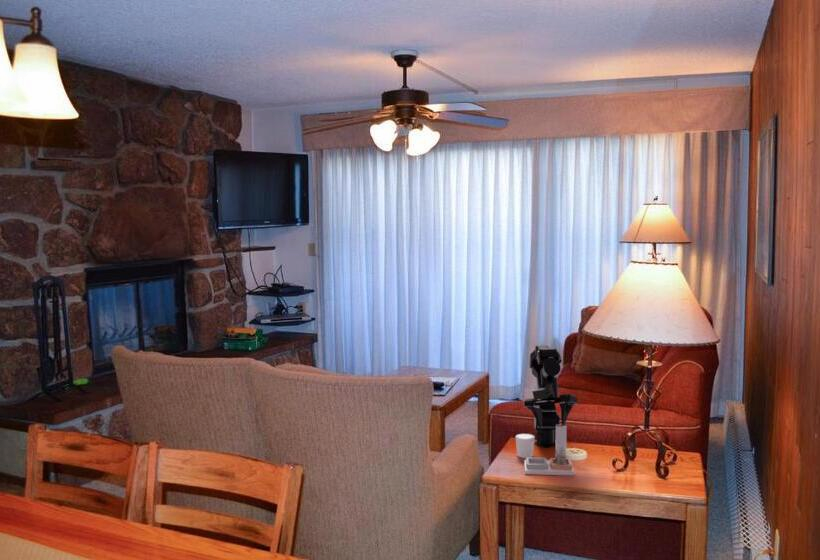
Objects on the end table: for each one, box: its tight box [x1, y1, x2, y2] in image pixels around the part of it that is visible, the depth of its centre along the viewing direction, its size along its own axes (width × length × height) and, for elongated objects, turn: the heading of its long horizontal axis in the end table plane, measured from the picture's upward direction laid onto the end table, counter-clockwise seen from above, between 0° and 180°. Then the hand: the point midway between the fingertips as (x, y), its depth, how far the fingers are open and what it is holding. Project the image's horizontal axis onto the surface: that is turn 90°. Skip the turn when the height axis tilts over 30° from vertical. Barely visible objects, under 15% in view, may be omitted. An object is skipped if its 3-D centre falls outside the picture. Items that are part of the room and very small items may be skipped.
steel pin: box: [554, 423, 568, 465], centre depth 247 cm, size 4×4×14 cm
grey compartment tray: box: [523, 457, 575, 476], centre depth 249 cm, size 10×16×3 cm, turn 83°
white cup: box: [515, 433, 536, 459], centre depth 263 cm, size 7×7×7 cm
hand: (551, 426), depth 257 cm, fingers open, 9 cm apart
